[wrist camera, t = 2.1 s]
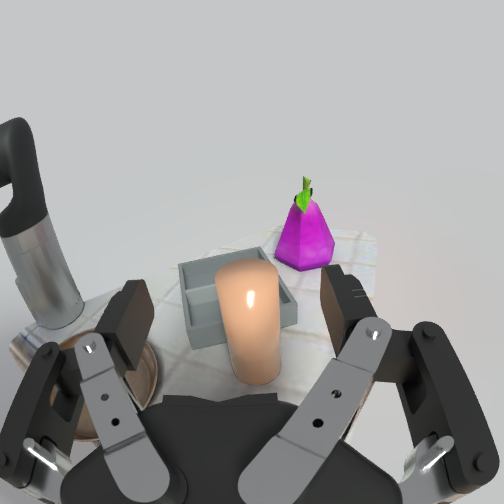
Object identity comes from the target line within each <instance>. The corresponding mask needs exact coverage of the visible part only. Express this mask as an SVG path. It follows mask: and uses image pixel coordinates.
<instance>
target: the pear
mask: <svg viewBox="0 0 504 504" xmlns="http://www.w3.org/2000/svg"><path fill="white" fill-rule="evenodd" d="M310 182H311V180H309V179H307V178H306V177H304V176H303V191H302V192H301V193H299V194H298V195H296V196H295V198H294V204H293V205H292V207H291V208H290V211H289V214H288V217H287V220H286V223H285V226H284V229H283V232H282V235H281V237H280V240H279V243H278V246H277V249H276V252H275V256H276V257H277V259H278V260H279V261H280V262H282V263H284V264H286V265H288V266H290V267H292V268H294V269H296V270H298V271H300V272H302V271H306V270H311V269H316V268H321V267H322V266H326V265H328V264H329V263H330V261H331V259H332V255H333V250H334V245H335V242H334V240H333V237H332V235H331V233H330V231H329V228H328V226H327V224H326V222H325V219H324V217H323V215H322V213H321V211H320V208H319V206H318V204H317V203H315V202H314V201H313V200H311V199H310V198H311V196H312V188H310V189H308V187H309V184H310Z"/></svg>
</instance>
